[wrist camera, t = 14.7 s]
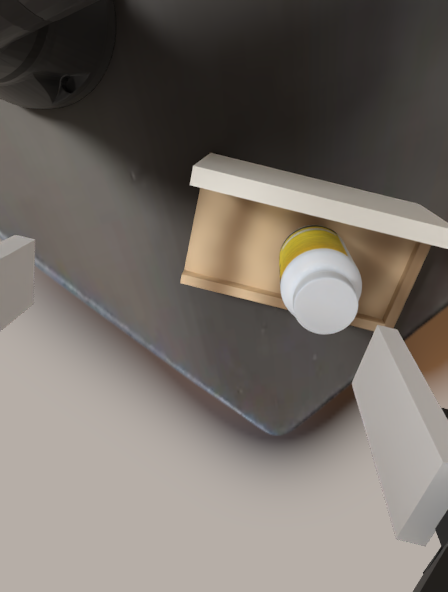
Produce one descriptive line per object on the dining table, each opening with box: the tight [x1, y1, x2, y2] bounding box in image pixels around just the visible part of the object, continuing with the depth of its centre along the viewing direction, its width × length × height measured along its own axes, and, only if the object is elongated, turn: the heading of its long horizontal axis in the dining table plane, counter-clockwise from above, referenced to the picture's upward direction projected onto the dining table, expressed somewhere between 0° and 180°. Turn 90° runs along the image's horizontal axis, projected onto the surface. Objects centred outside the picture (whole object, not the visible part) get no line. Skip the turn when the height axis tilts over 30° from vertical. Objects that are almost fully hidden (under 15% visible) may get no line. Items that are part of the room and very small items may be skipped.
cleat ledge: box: [180, 188, 431, 331], centre depth 42 cm, size 22×11×4 cm, turn 77°
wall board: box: [190, 153, 448, 249], centre depth 37 cm, size 21×2×10 cm, turn 77°
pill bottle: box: [279, 225, 362, 334], centre depth 36 cm, size 6×6×12 cm
